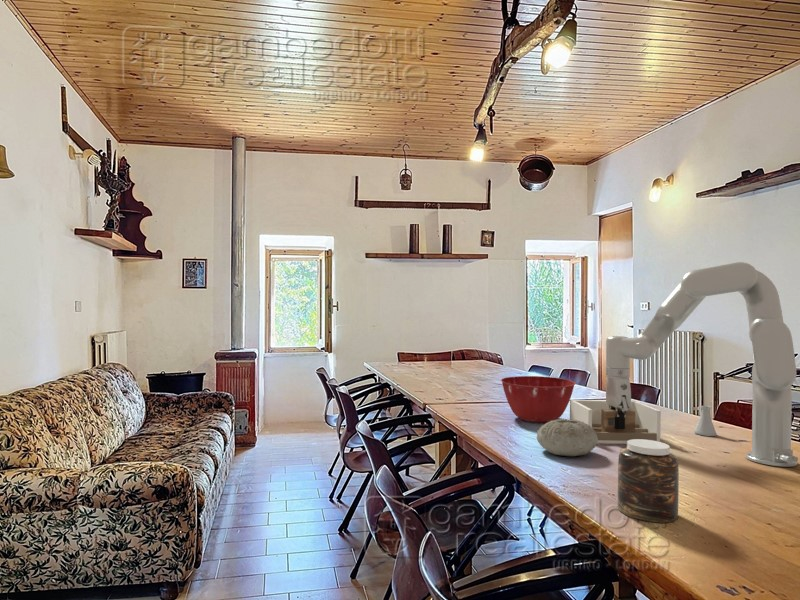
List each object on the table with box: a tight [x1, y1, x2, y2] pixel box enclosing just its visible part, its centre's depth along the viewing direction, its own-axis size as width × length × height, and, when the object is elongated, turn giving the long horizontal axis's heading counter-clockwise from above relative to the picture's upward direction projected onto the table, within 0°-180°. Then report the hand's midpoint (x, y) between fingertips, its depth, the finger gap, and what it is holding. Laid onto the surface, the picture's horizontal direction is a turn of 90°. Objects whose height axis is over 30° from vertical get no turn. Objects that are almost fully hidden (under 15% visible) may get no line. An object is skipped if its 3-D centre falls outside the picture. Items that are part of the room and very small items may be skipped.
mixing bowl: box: [500, 375, 576, 424], centre depth 212 cm, size 28×28×16 cm
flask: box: [693, 405, 718, 437], centre depth 192 cm, size 7×7×10 cm
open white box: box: [569, 399, 662, 445], centre depth 185 cm, size 18×24×11 cm
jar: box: [617, 439, 680, 524], centre depth 117 cm, size 12×12×15 cm
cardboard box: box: [601, 409, 635, 432], centre depth 180 cm, size 4×10×9 cm, turn 91°
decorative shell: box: [536, 418, 599, 457], centre depth 164 cm, size 18×18×10 cm
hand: (617, 427), depth 180 cm, fingers closed on cardboard box, 3 cm apart
